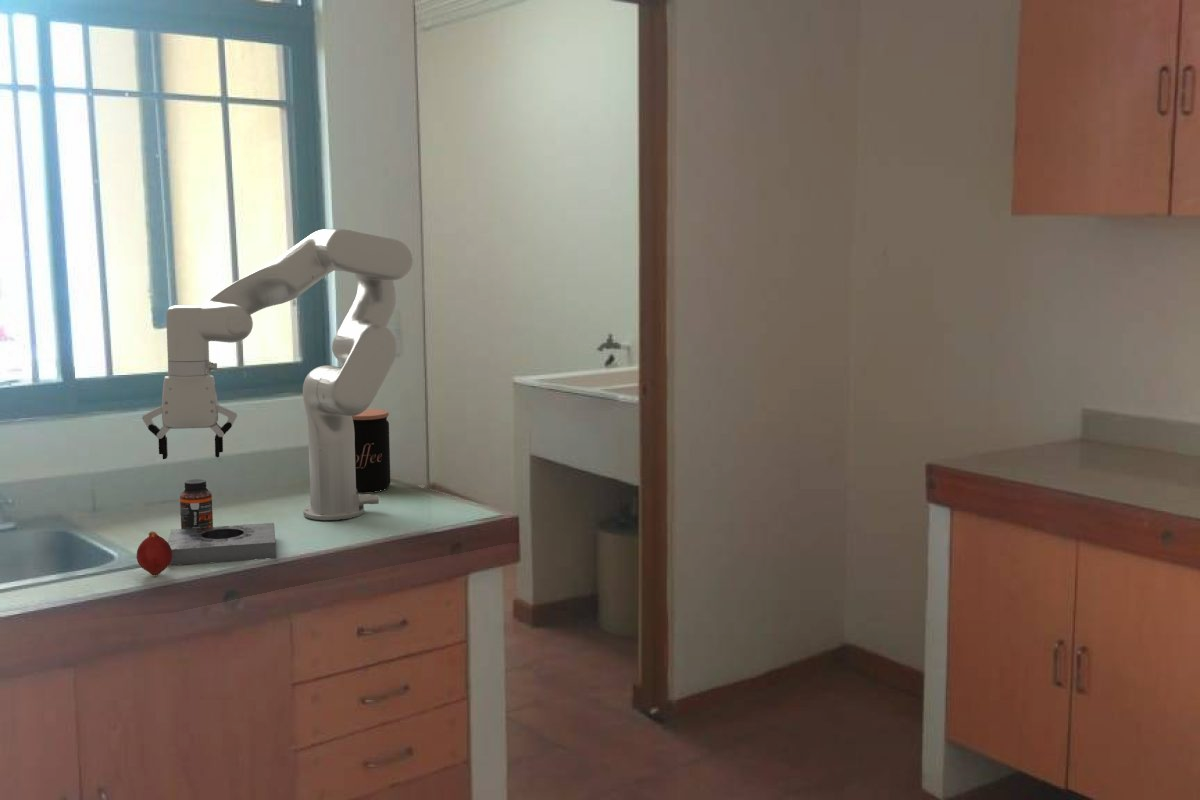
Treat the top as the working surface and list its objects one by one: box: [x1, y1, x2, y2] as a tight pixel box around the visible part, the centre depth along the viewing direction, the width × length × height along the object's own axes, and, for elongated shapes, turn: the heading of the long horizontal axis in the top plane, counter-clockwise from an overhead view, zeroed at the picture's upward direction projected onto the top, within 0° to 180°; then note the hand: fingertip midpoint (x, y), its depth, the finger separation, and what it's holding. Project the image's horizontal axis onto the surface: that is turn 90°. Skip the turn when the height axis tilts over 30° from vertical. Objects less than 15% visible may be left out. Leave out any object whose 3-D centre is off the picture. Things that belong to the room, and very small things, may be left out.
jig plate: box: [167, 522, 277, 567], centre depth 222 cm, size 19×15×3 cm
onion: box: [136, 530, 172, 577], centre depth 206 cm, size 6×6×8 cm
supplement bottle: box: [179, 478, 214, 529], centre depth 231 cm, size 6×6×11 cm
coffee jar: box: [352, 408, 391, 493], centre depth 274 cm, size 11×11×18 cm
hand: (191, 457), depth 229 cm, fingers open, 9 cm apart
